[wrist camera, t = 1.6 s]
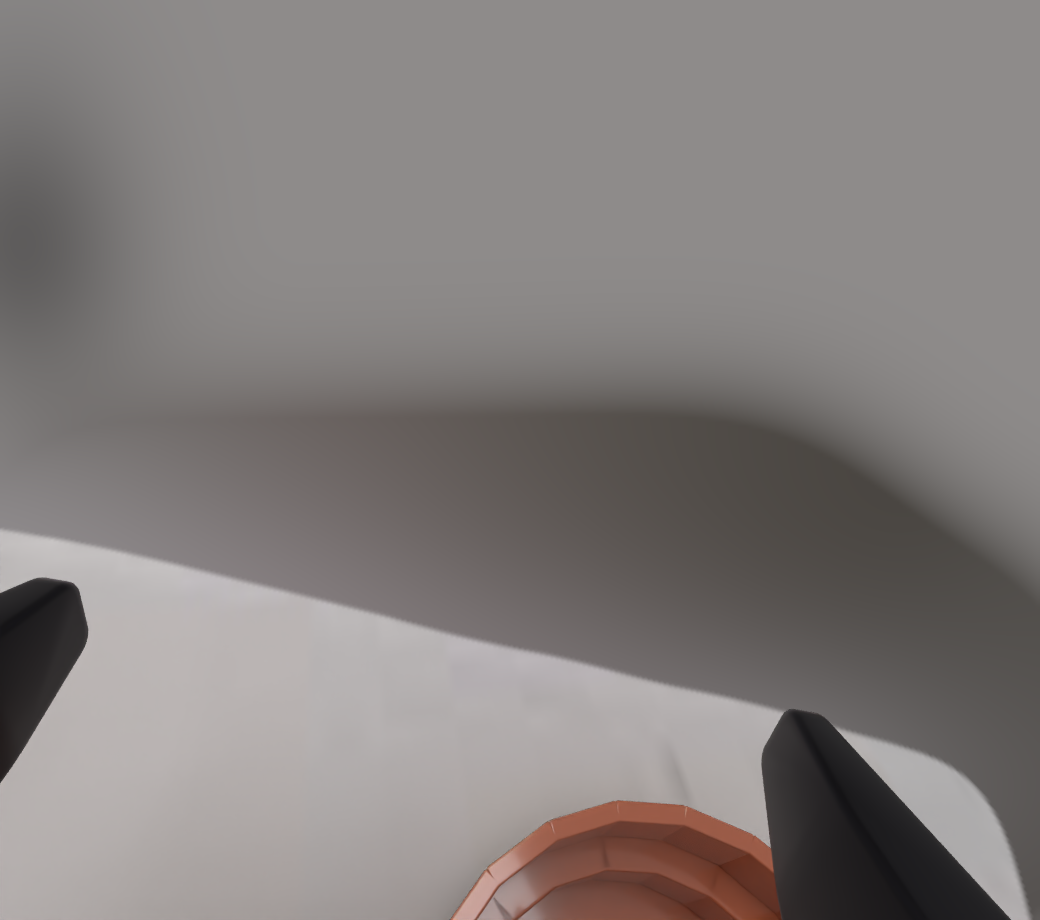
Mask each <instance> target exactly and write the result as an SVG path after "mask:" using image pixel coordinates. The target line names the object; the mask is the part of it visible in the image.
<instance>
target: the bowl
mask: <svg viewBox="0 0 1040 920" xmlns="http://www.w3.org/2000/svg"><path fill="white" fill-rule="evenodd" d="M450 920H782V918H781V913H780V908H779V903H778V897H777V892H776V884H775V877H774V870H773V861H772V853H771V848H770V847H768V846H767V845H766V844H765V843H763V842H762V841H761V840H760V839H758V838H757V837H756V836H753V835H752V834H751V833H748V832H746V831H744V830H741V829H739V828H737V827H734V826H732V825H730V824H727V823H725V822H723V821H720V820H718V819H716V818H713V817H711V816H709V815H706V814H704V813H702V812H699V811H697V810H694V809H692V808H690V807H687V806H684V805H675V804H661V803H647V802H633V801H619V800H617V801H612V802H608V803H605V804H602V805H598V806H595V807H592V808H588V809H585V810H582V811H579V812H575V813H572V814H569V815H565V816H562V817H559V818H555V819H552V820H550V821H549V822H546V823H545V824H543V825H542V826H541V827H539V828H538V829H537V830H535V831H534V832H533V833H531V834H530V835H529V836H527V837H526V838H525V839H523V840H522V841H521V842H520V843H518V844H517V845H516V846H514V847H513V848H512V849H510V850H509V851H508V852H506V853H505V854H504V855H502V856H501V857H500V858H498V859H497V860H496V861H495V862H493V863H492V864H491V865H489V866H488V867H487V869H486V870H484V872H483V873H482V875H481V876H480V877H479V879H478V880H477V882H476V883H475V885H474V886H473V887H472V889H471V890H470V892H469V893H468V895H467V896H466V897H465V899H464V900H463V902H462V903H461V905H460V906H459V907H458V909H457V910H456V912H455V913H454V915H453V916H452V917H451V919H450Z"/></svg>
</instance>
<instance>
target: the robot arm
mask: <svg viewBox="0 0 1040 920" xmlns="http://www.w3.org/2000/svg"><path fill="white" fill-rule="evenodd" d="M87 638H88V626H87V622H86V617H85V613H84V609H83V605H82V601H81V596H80V592H79V589H78V588H77V587H76V586H75V584H74V583H71V582H67V581H62V580H56V579H50V578H36V579H33V580H30V581H27V582H25V583H23V584H20V585H18V586H16V587H13V588H11V589H9V590H6V591H4V592H2V593H0V783H1V781H2V780H3V779H4V777H5V776H6V774H7V773H8V772H9V770H10V769H11V767H12V766H13V764H14V763H15V761H16V760H17V758H18V757H19V755H20V753H21V752H22V750H23V749H24V747H25V746H26V744H27V742H28V741H29V739H30V737H31V736H32V734H33V732H34V731H35V729H36V727H37V726H38V724H39V722H40V721H41V719H42V717H43V716H44V714H45V712H46V711H47V709H48V708H49V706H50V704H51V703H52V701H53V699H54V698H55V696H56V694H57V693H58V691H59V689H60V688H61V686H62V684H63V683H64V681H65V679H66V678H67V676H68V674H69V673H70V671H71V669H72V668H73V666H74V664H75V663H76V661H77V659H78V658H79V656H80V654H81V653H82V651H83V649H84V647H85V644H86V642H87ZM762 775H763V784H764V792H765V801H766V810H767V818H768V827H769V835H770V844H771V853H772V861H773V870H774V877H775V884H776V892H777V897H778V903H779V908H780V913H781V918H782V920H1011V919H1010V918H1009V917H1008V916H1007V915H1006V914H1005V913H1004V911H1003V910H1002V909H1001V908H1000V907H999V906H998V905H997V904H996V903H995V902H994V901H993V900H992V898H991V897H990V896H989V895H988V894H987V893H986V892H985V891H984V890H983V889H982V888H981V886H980V885H979V884H978V883H977V882H976V881H975V880H974V879H973V878H972V877H971V876H970V874H969V873H968V872H967V871H966V870H965V869H964V868H963V867H962V866H961V865H960V864H959V863H958V861H957V860H956V859H955V858H954V857H953V856H952V855H951V854H950V853H949V852H948V851H947V849H946V848H945V847H944V846H943V845H942V844H941V843H940V842H939V841H938V840H937V839H936V838H935V836H934V835H933V834H932V833H931V832H930V831H929V830H928V829H927V828H926V827H925V826H924V824H923V823H922V822H921V821H920V820H919V819H918V818H917V817H916V816H915V815H914V814H913V812H912V811H911V810H910V809H909V808H908V807H907V806H906V805H905V804H904V803H903V802H902V801H901V799H900V798H899V797H898V796H897V795H896V794H895V793H894V792H893V791H892V790H891V789H890V787H889V786H888V785H887V784H886V783H885V782H884V781H883V780H882V779H881V778H880V777H879V775H878V774H877V773H876V772H875V771H874V770H873V769H872V768H871V767H870V766H869V765H868V764H867V762H866V761H865V760H864V759H863V758H862V757H861V756H860V755H859V754H858V753H857V752H856V750H855V749H854V748H853V747H852V746H851V745H850V744H849V743H848V742H847V741H846V740H845V739H844V737H843V736H842V735H841V734H840V733H839V732H838V731H837V730H836V729H835V728H834V727H833V725H832V724H831V723H830V722H829V721H828V720H827V719H826V718H825V717H823V716H822V715H820V714H818V713H814V712H807V711H802V710H796V709H789V710H788V711H786V712H784V714H783V715H782V717H781V719H780V720H779V722H778V724H777V726H776V727H775V729H774V731H773V733H772V734H771V736H770V738H769V740H768V742H767V743H766V745H765V747H764V750H763V753H762Z"/></svg>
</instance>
